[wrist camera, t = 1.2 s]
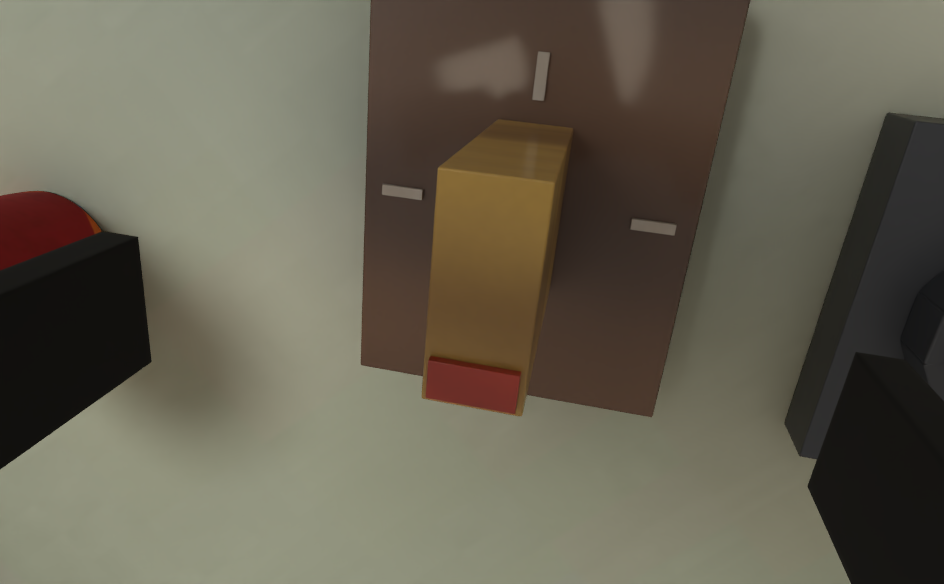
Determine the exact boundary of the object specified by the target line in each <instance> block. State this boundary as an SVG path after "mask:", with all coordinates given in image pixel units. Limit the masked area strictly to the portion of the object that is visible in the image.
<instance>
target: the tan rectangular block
mask: <svg viewBox="0 0 944 584" xmlns="http://www.w3.org/2000/svg"><path fill="white" fill-rule="evenodd" d="M572 136H573V128H568V127H560V126H551V125H543V124H535V123H526V122H518V121H510V120H501V119H498V120H497V121H495V122H494V123H493V124H492V125H490V126H489V127H488V128H487V129H485V130H484V131H483V132H482V133H480V134H479V135H478V136H477V137H475V138H474V139H473V140H472V141H471V142H469V143H468V144H467V145H466V146H464V147H463V148H462V149H461V150H459V151H458V152H457V153H456V154H454V155H453V156H452V157H451V158H449V159H448V160H447V161H446V162H444V163H443V164H442V165H441V166H439V167H438V172H437V186H436V200H435V214H434V228H433V242H432V256H431V271H430V285H429V299H428V313H427V327H426V341H425V355H424V369H423V384H422V398H423V399H428V400H434V401H439V402H444V403H450V404H455V405H461V406H466V407H471V408H477V409H482V410H488V411H493V412H499V413H504V414H509V415H515V416H522V414H523V410H524V405H525V400H526V396H527V391H528V387H529V382H530V378H531V373H532V368H533V364H534V359H535V355H536V350H537V345H538V341H539V336H540V332H541V327H542V322H543V318H544V313H545V309H546V304H547V300H548V295H549V290H550V284H551V277H552V270H553V264H554V257H555V250H556V243H557V237H558V230H559V223H560V217H561V210H562V203H563V196H564V190H565V183H566V176H567V170H568V163H569V156H570V149H571V143H572Z"/></svg>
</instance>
